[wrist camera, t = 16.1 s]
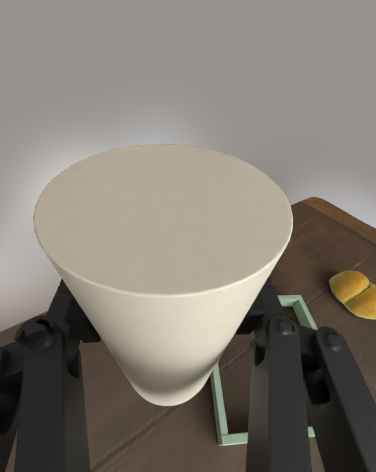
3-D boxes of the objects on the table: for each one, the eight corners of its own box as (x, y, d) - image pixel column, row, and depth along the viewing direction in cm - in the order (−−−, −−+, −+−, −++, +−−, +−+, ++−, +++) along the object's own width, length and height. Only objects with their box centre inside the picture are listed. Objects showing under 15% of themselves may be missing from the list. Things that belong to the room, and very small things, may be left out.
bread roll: (365, 329, 33) (383, 319, 30) (319, 286, 39) (331, 273, 36) (392, 309, 36) (411, 298, 33) (346, 271, 42) (358, 259, 39)
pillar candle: (118, 410, 14) (-51, 304, 3) (131, 310, 19) (82, 140, 8) (220, 401, 14) (356, 290, 4) (206, 307, 19) (250, 146, 9)
